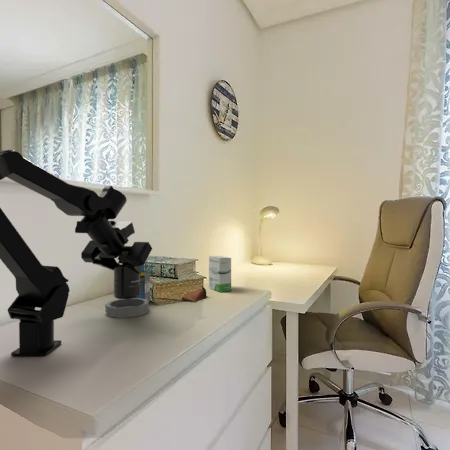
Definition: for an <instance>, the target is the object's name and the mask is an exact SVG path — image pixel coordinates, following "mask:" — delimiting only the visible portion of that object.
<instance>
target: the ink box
mask: <svg viewBox="0 0 450 450" xmlns="http://www.w3.org/2000/svg"><path fill="white" fill-rule="evenodd" d="M208 289H210V290H213V291H216V292H219V293H223V292H229V291H230V292H231V291H232V257H229V256H228V257H227V256H224V255H223V256H221V255H210V256H208Z"/></svg>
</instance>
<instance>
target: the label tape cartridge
mask: <svg viewBox="0 0 450 450" xmlns="http://www.w3.org/2000/svg"><path fill="white" fill-rule="evenodd" d="M150 278H151V274H150V273H148V272H147V271H145V264H143V265H142V273H141V274H140V294H139V296H138V297H136V298H141V299H146V300H148V301H149V302H150V301H151V298H150V295H151V279H150Z"/></svg>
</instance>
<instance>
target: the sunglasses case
mask: <svg viewBox="0 0 450 450" xmlns="http://www.w3.org/2000/svg"><path fill="white" fill-rule="evenodd" d="M202 287H203V286H202ZM206 297H207V289H206V288H205V287H203V288H202V289H198V290H196V291H193V292H191V293H187V294H185V295H184V296H183V297H182V300H183V301H182V302H191V303H197V302H199V301H200V300H203V299H204V298H206Z"/></svg>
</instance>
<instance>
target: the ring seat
mask: <svg viewBox="0 0 450 450" xmlns="http://www.w3.org/2000/svg"><path fill="white" fill-rule="evenodd" d="M104 305H105V306H104V307H105V309H104V310H105V314H106V315H107V316H108V317H111V318H117V319H118V318H119V319H124V318H127V319H128V318H134V317H139V316H143V315H145V314H147V313H148V312H149V309H150V301H148V300H146V299H141V298H132V299H117V298H116V299H114V300H109V301H108V302H106V303H105V304H104Z"/></svg>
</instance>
